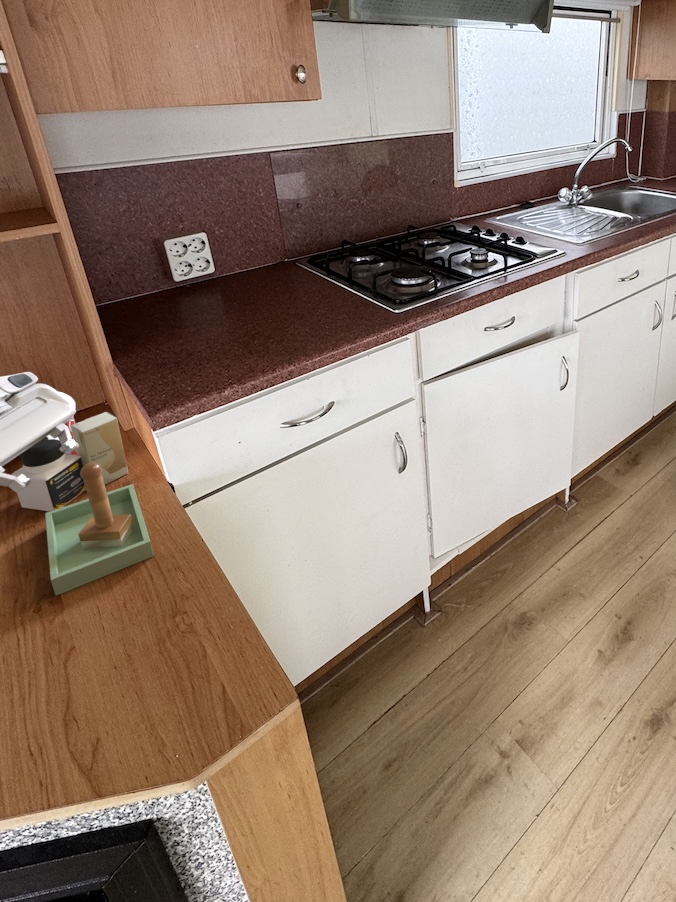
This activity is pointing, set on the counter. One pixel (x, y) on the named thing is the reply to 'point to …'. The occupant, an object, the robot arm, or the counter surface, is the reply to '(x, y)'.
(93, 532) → the stamp
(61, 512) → the tray
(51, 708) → the counter surface
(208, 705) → the counter surface
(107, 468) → the cosmetic box
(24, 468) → the medicine bottle
